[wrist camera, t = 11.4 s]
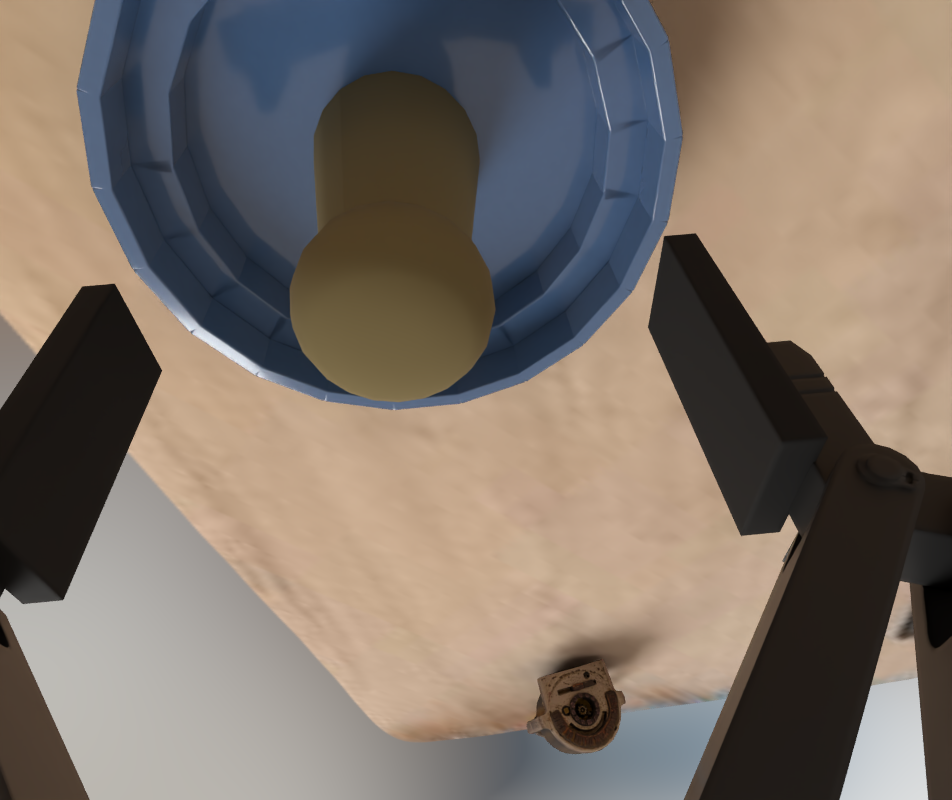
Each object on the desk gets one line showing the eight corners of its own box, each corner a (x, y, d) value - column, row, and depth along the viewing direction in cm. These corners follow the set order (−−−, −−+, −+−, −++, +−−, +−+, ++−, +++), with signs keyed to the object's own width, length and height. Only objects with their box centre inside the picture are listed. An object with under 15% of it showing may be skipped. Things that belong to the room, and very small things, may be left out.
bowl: (15, -157, 17) (-78, -149, 14) (680, -206, 17) (744, -210, 14) (232, 359, 29) (211, 428, 26) (614, 324, 30) (640, 387, 27)
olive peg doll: (498, 209, 24) (543, 401, 16) (355, 254, 25) (332, 458, 17) (450, 44, 20) (478, 195, 12) (281, 105, 21) (206, 283, 13)
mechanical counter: (671, 722, 53) (580, 742, 48) (593, 785, 59) (507, 808, 54) (629, 643, 58) (543, 653, 53) (562, 710, 64) (480, 725, 59)
